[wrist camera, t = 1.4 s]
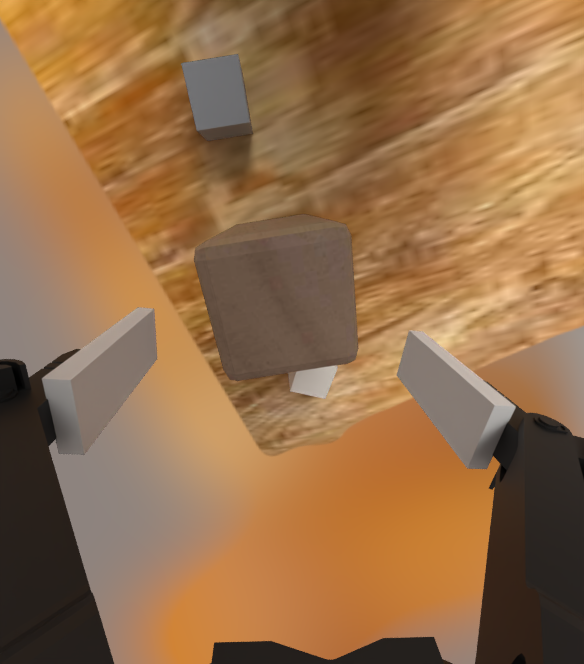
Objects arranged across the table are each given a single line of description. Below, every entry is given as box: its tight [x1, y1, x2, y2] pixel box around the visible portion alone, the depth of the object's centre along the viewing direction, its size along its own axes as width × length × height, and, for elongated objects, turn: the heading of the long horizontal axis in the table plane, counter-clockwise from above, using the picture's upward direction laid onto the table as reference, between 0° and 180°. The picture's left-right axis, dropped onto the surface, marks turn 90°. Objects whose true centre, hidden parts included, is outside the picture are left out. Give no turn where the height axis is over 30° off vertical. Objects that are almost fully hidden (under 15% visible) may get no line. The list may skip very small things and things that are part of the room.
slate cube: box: [181, 54, 253, 141], centre depth 29 cm, size 5×5×5 cm
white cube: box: [288, 365, 338, 399], centre depth 42 cm, size 5×5×5 cm
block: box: [194, 214, 358, 381], centre depth 29 cm, size 10×10×20 cm
